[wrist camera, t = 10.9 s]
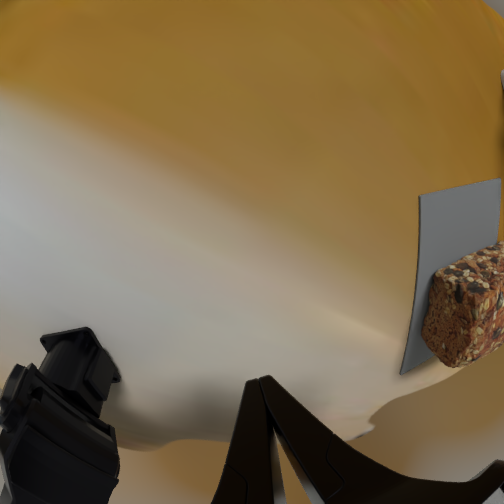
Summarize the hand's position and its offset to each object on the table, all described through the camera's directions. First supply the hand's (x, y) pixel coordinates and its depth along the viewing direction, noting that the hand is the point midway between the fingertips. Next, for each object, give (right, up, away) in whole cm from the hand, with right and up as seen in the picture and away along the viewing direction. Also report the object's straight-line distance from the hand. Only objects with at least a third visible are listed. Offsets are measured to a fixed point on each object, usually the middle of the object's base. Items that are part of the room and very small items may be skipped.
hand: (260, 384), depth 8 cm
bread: (+28, 0, +18) cm, 34 cm away
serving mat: (+26, +1, +18) cm, 32 cm away
